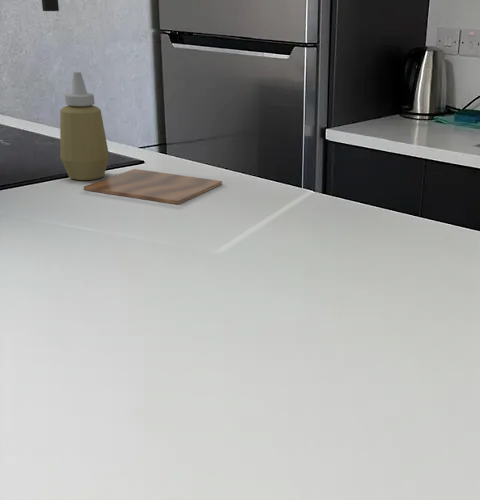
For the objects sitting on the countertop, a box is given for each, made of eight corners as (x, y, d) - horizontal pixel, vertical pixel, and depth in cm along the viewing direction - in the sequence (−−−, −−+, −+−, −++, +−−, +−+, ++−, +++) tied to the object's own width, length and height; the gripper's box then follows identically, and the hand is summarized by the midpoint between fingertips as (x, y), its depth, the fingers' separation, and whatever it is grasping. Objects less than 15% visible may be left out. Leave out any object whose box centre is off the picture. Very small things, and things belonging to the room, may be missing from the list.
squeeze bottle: (119, 173, 124) (111, 71, 117) (96, 184, 116) (86, 76, 110) (78, 169, 125) (68, 68, 118) (52, 180, 117) (40, 73, 111)
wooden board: (83, 190, 113) (83, 186, 112) (134, 171, 125) (134, 168, 125) (178, 204, 107) (178, 201, 107) (222, 184, 120) (222, 180, 120)
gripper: (83, -134, 104) (95, 12, 112) (-37, -131, 113) (-18, 5, 120) (45, -144, 98) (61, 13, 105) (-79, -140, 106) (-56, 5, 114)
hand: (19, 9), depth 113 cm, fingers open, 13 cm apart
